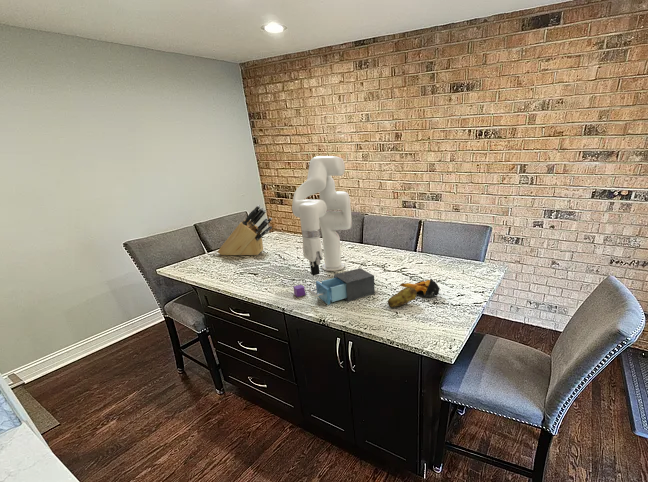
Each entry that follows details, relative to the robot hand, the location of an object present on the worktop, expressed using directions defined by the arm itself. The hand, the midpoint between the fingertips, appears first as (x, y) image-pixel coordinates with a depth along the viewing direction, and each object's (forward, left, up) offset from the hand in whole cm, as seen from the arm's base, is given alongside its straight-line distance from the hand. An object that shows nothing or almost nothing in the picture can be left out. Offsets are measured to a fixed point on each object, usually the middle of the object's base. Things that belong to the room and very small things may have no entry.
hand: (315, 274), depth 147 cm
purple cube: (-13, -4, -13) cm, 19 cm away
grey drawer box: (+1, +18, -13) cm, 23 cm away
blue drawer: (+1, +6, -12) cm, 14 cm away
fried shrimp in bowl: (+21, +42, -14) cm, 49 cm away
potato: (+25, +28, -14) cm, 40 cm away
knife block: (-96, -6, -14) cm, 97 cm away
